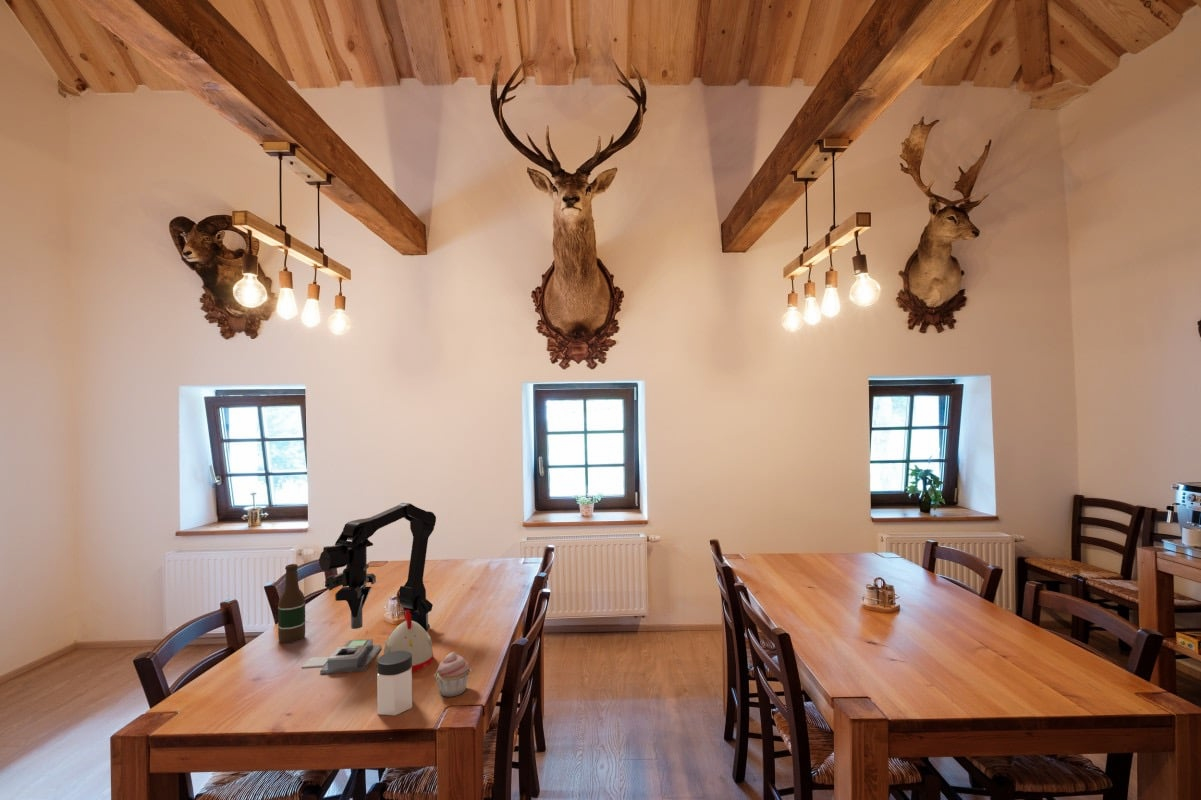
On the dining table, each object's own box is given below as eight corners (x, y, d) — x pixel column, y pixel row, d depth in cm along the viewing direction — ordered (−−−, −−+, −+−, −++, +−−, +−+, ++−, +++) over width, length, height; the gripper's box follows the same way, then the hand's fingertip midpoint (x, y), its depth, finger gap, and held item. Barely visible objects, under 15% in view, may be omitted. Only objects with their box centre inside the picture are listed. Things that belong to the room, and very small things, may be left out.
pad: (331, 657, 166) (331, 656, 166) (323, 666, 160) (323, 665, 160) (310, 659, 165) (310, 657, 165) (301, 668, 159) (301, 666, 159)
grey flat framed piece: (381, 648, 172) (381, 634, 172) (364, 671, 156) (364, 655, 156) (341, 650, 171) (340, 636, 171) (320, 674, 155) (320, 658, 155)
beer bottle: (310, 635, 184) (310, 562, 185) (290, 644, 177) (290, 568, 178) (293, 633, 187) (292, 561, 187) (272, 642, 179) (272, 567, 180)
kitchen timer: (385, 677, 152) (384, 622, 152) (380, 658, 164) (379, 607, 165) (437, 666, 158) (436, 613, 159) (428, 649, 170) (428, 599, 171)
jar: (402, 694, 142) (402, 647, 142) (420, 704, 136) (419, 655, 137) (369, 709, 135) (368, 659, 135) (386, 720, 130) (385, 668, 130)
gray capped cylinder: (352, 625, 170) (352, 592, 170) (364, 624, 170) (364, 591, 170) (348, 629, 166) (348, 595, 167) (361, 628, 166) (360, 595, 167)
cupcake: (472, 696, 140) (472, 656, 140) (434, 703, 137) (433, 661, 138) (470, 680, 149) (470, 642, 149) (434, 686, 146) (433, 647, 146)
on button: (367, 646, 170) (367, 640, 170) (362, 652, 166) (362, 645, 166) (352, 647, 170) (352, 641, 170) (347, 653, 165) (347, 646, 166)
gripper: (340, 557, 177) (340, 606, 177) (316, 572, 159) (316, 628, 158) (376, 555, 178) (376, 604, 178) (356, 570, 160) (357, 625, 159)
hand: (356, 615), depth 168 cm, fingers closed on gray capped cylinder, 3 cm apart
